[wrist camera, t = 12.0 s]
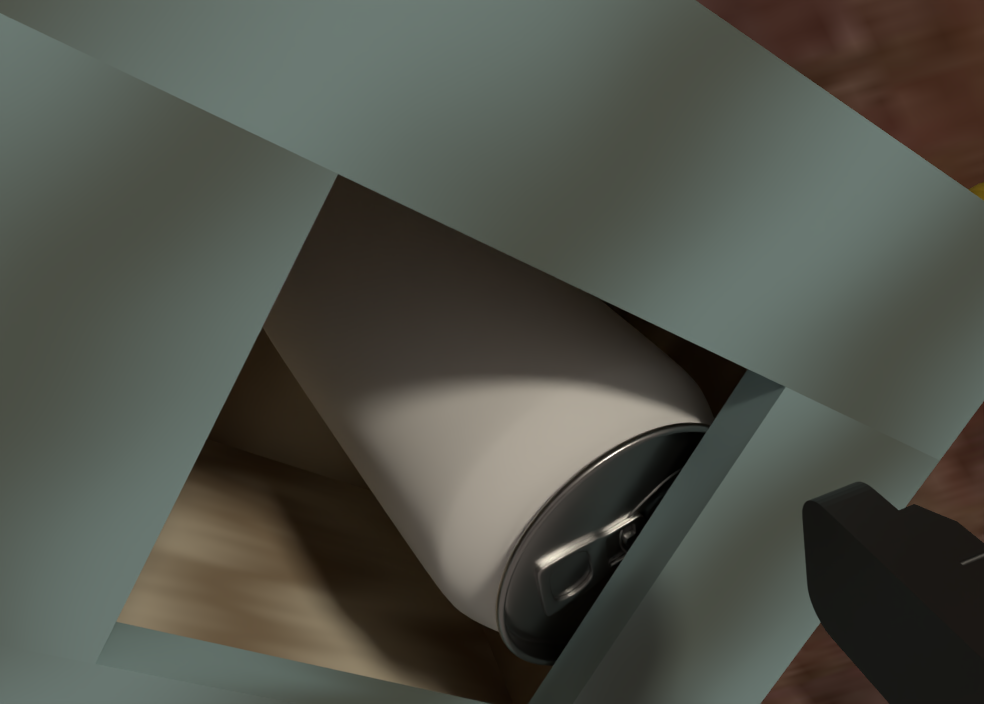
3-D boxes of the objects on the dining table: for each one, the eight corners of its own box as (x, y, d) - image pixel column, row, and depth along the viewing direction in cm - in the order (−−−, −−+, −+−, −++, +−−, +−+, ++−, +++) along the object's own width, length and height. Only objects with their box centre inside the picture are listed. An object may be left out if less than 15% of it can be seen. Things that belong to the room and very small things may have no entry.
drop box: (693, 109, 28) (1081, 268, 16) (443, 534, 32) (599, 920, 20) (168, -220, 21) (143, -383, 9) (-70, 377, 25) (-311, 826, 13)
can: (484, 301, 29) (761, 565, 20) (291, 399, 27) (508, 735, 18) (440, 109, 24) (770, 343, 16) (207, 210, 22) (442, 535, 14)
